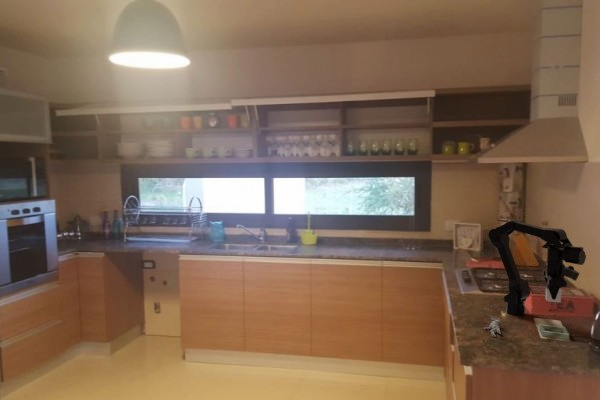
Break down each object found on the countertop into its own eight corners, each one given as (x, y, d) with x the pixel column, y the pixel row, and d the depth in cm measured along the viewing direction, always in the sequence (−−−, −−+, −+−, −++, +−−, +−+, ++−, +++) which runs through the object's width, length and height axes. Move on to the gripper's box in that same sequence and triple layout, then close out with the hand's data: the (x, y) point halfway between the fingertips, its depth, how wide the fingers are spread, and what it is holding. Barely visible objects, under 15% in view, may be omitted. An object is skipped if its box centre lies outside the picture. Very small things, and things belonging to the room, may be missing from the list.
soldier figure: (484, 338, 177) (479, 318, 188) (493, 345, 177) (487, 325, 188) (501, 327, 174) (494, 308, 184) (510, 335, 174) (503, 315, 185)
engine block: (546, 301, 184) (547, 289, 184) (545, 298, 188) (545, 286, 187) (560, 302, 182) (561, 290, 182) (559, 299, 186) (559, 287, 186)
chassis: (540, 340, 172) (541, 332, 172) (533, 320, 193) (533, 313, 193) (571, 344, 169) (571, 336, 168) (560, 323, 190) (560, 316, 190)
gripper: (583, 267, 172) (580, 307, 173) (573, 256, 189) (571, 293, 191) (549, 264, 176) (547, 304, 177) (543, 254, 193) (541, 290, 195)
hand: (552, 297), depth 185 cm, fingers closed on engine block, 4 cm apart
